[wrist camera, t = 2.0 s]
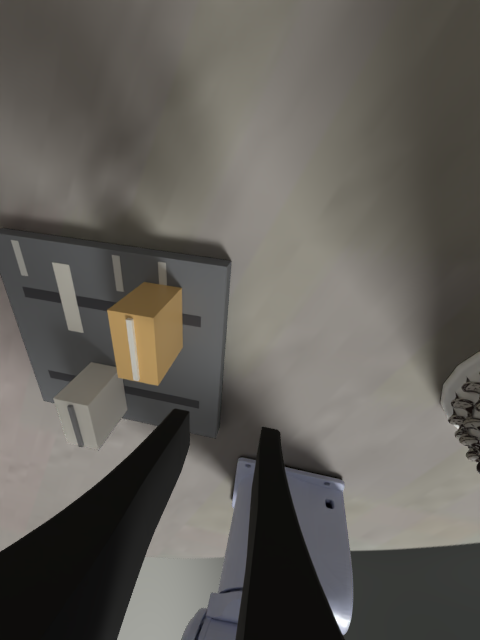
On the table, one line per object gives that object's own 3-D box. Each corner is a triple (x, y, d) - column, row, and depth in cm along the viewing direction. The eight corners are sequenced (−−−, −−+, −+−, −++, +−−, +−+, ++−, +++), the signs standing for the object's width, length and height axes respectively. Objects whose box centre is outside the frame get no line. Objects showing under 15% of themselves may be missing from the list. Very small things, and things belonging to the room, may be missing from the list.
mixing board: (231, 260, 18) (227, 267, 17) (219, 427, 25) (215, 438, 24) (2, 227, 20) (-15, 231, 19) (53, 391, 27) (43, 401, 26)
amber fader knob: (181, 287, 18) (151, 320, 14) (182, 347, 20) (156, 388, 16) (144, 281, 18) (104, 311, 15) (149, 341, 20) (116, 380, 17)
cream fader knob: (121, 367, 22) (85, 408, 19) (127, 409, 24) (96, 453, 21) (91, 362, 22) (50, 400, 19) (100, 403, 25) (65, 445, 21)
